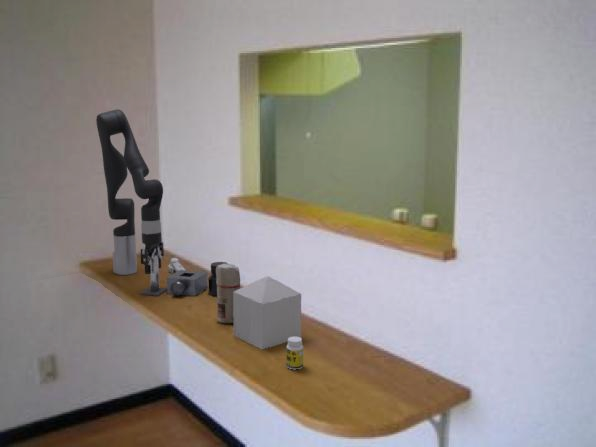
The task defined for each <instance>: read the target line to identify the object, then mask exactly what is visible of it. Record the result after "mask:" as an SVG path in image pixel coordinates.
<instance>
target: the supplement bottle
mask: <svg viewBox="0 0 596 447" xmlns="http://www.w3.org/2000/svg"><path fill="white" fill-rule="evenodd" d="M285 349H286V350H285V351H286V352H285V353H286V355H285V356H286V358H285V359H286V362H285V363H286V368H287V369H288V368H289V369H288V370H291V369H293V370H292V371H297V370H296V369H299V370H302V368H303V367H304V346H303V338H302V337H289V338H288V342H287V345H286V348H285Z"/></svg>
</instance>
